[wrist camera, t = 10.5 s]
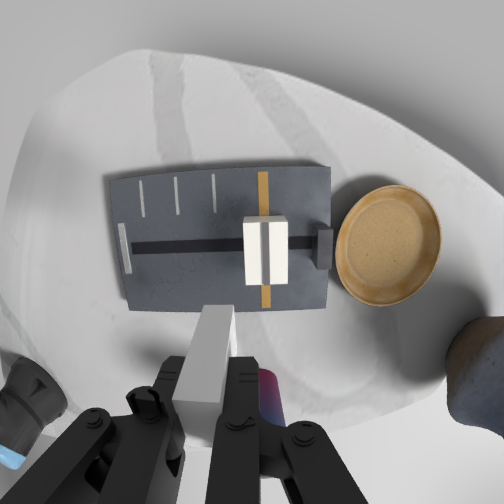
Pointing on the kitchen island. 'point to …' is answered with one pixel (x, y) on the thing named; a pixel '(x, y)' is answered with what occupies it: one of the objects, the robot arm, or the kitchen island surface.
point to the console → (220, 237)
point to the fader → (266, 250)
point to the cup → (270, 400)
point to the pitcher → (477, 375)
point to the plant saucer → (388, 245)
